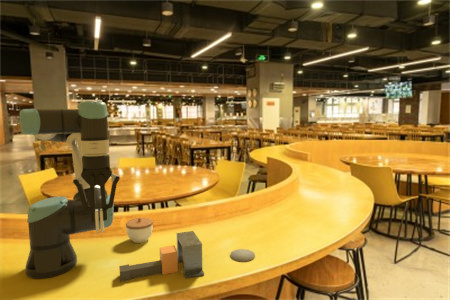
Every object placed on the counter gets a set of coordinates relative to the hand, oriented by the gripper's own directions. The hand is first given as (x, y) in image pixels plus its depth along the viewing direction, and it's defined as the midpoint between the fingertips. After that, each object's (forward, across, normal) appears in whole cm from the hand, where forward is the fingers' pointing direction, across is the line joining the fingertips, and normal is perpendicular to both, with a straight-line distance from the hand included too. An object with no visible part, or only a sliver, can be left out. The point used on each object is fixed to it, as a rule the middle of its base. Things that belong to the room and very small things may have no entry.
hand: (100, 230), depth 90 cm
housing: (+16, +28, 0) cm, 32 cm away
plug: (+16, +14, 0) cm, 22 cm away
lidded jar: (+17, +14, +28) cm, 35 cm away
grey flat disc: (+16, +48, 0) cm, 50 cm away
